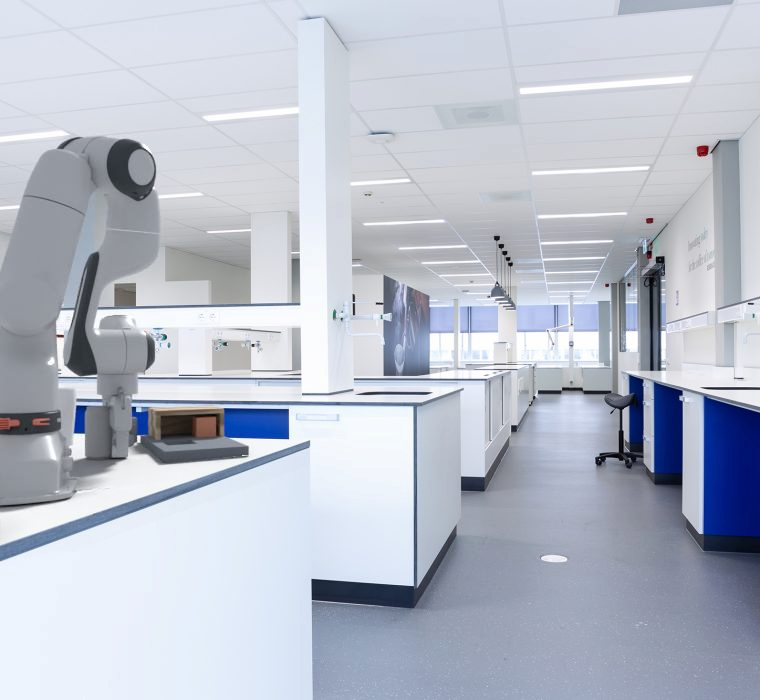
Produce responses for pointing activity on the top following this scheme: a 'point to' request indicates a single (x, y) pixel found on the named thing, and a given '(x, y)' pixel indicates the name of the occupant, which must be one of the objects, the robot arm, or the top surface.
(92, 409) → the beverage can
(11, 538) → the top surface
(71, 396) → the drinking glass
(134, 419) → the mallet
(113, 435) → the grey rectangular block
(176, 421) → the cubby
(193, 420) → the cube
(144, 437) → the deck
